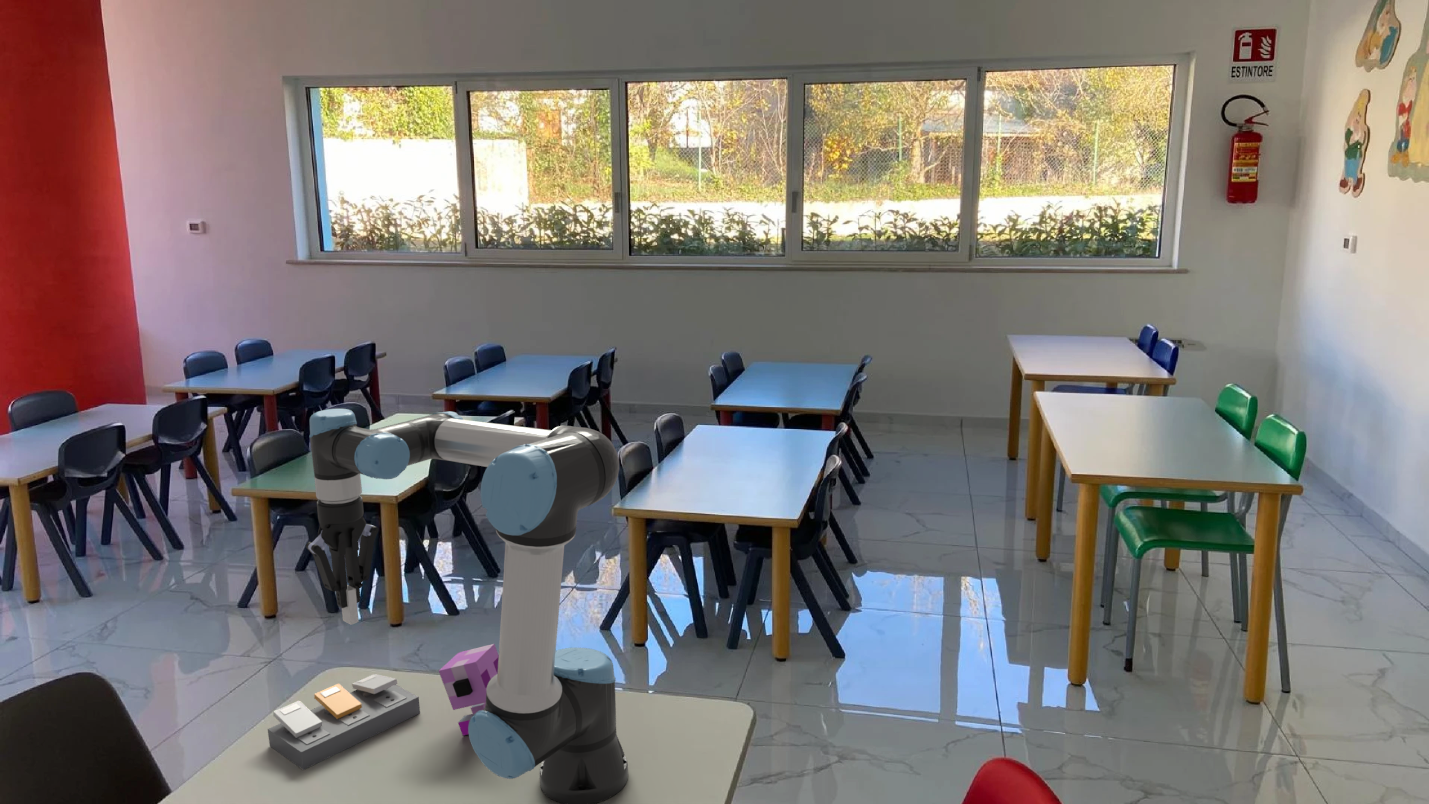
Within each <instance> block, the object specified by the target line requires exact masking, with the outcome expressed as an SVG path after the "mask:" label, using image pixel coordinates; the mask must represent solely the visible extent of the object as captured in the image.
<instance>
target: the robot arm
mask: <svg viewBox="0 0 1429 804" xmlns="http://www.w3.org/2000/svg"><path fill="white" fill-rule="evenodd" d="M357 424H358V421H357V418H356V415H355V413H354V412H353V411H352V410H351V409H348V408H347V409H346V408H330V409H329V408H328V409H323V410H319V411H316V412H314V413H313V414H311V416H310V417H309V441H310V449H311V451H310V452H311V457H312V458H311V459H312V466H313V469H312V470H313V474H314V475H313V477H314V487H315V497H316V499H317V501H316V507H317V508H316V509H317V519H318V523H319V528H318V532H317V537H315V539H314V540H313V541H312V542H311V541H308V542H307V543H306V544H305V548H306V549H307V550H308V551H309V552H310V553H311V554H312V556H313V559H314V562H315V565H316V567H317V571H318V573H319V576H320V578H321V580H322V584H323V585H324V586H323V587H324V588H325V589H327V590H329V591H332V592H333V593H334V592H335V595H336V605H337V606H338V607H339V608H341V614H342V621H343V622H345V623H346V624H349V625H350V626H352V625H354V624H357V623H359V612H358V603H360V602H361V600H362V599H361V588H362V587H363V585H364V584H363V582H364V581H368V580H369V579H370V574H371V567H372V560H373V559H372V558H373V553H374V543H375V539H376V538H377V535H378V533H379V529H380V528H379V527H377V526H375V525H372V524H371V523H367V522H366V520H365V518H364V515H365V513H364V511H365V510H364V502H363V497H362V495H361V494H362V493H363V489H362V488H363V487H362V479H361V475H363V476H366V477H369V478H372V479H373V478H374V479H379V480H392V479H395V478H397V477H399V476H400V475H401V474H403V472H404V471H405V470H406V469H407V467H408V466H412V465H414V464H418V463H419V464H420V463H421V462H425V461H428V460H429V461H430V460H441V461H448V462H455V463H460V464H461V463H462V464H467V465H473V466H479V467H480V466H481V467H485V471H484V473H483V476H482V479H481V485H480V500H481V506H482V508H483V509H485V510H486V513H485V517H486V519H487V520H488V522H489V523H490V524H491V526H492V527H493V528H494V529H495V532H496V533H495V534H497V536H498V537H499V539H501V540H502V541H503V542H504V543H505V546H504V547H505V548H504V562H503V578H502V579H503V581H502V595H501V612H500V625H499V626H500V627H499V643H498V655H499V658H498V674H496V675H495V676H494V677H493V678H492V679H491V680H490V681H489V683H488V685H487V690H486V705H485V708H484V709H483V710H480V711H478V712H476V713H475V715H474V716H473V717H472V718H471V719H470V722H469V726H468V733H469V734H468V738H469V743H470V744H471V747H472V749H473V751H474V753H475V754H476V756H477V757H478V759H479V761H480V762H481V763H482V764H483V765H484V767H486V769H487V770H489V771H490V772H492V773H493V774H495V775H496V776H498V777H501V778H503V779H506V780H507V779H509V780H511V779H512V780H513V779H516V778H519V777H520V776H522V775H524V774H526V773H528V772H531V771H532V770H534V769H535V767H537V766H538V765H540V766H539V784H540V785H539V786H540V789H541V791H542V793H543V794H544V795H545V796H546V797H548V798H549V799H550V800H553V801H555V802H557V803H561V804H596V803H600V802H603V801H605V800H607V799H608V800H609V799H610V798H611V797H614V796H615V795H617V794H618V793H619V792H621V790H623V788H624V787H625V786H626V784H627V783H628V778H629V764H628V760H627V759H628V758H627V757H626V755H625V752H624V749H623V747H622V744H621V742H620V739H619V737H618V735H617V711H616V710H617V708H616V705H617V704H616V676H615V671H614V663H613V660H612V659H611V657H609V655H607V654H606V653H604V652H602V651H601V650H597V649H593V648H587V647H565V648H561V649H557V639H558V625H559V613H560V603H561V590H562V589H561V588H562V579H563V577H562V576H563V567H564V566H563V565H564V555H565V553H564V552H565V545H568V543H570V542H571V541H572V540H573V539H575V537H576V535H577V534H576V533H577V522H578V514H579V513H578V512H579V511H580V510H582V509H585V508H586V507H589V506H592V505H593V504H595V503H597V502H599V501H601V500H602V499H605V497H606V496H607V495H608V494H609V493H610V492H611V491H612V489H613V488H614V486H615V485H616V482H617V480H618V477H619V471H620V460H619V454H618V451H617V450H616V448H615V446H614V444H613V443H612V441H611V440H610V439H609V438H608V437H607V436H606V435H605V434H603V433H602V432H600V431H597V430H595V429H592V428H588V427H581V426H571V425H560V426H559V425H558V426H556V427H554V428H553V429H552V430H551V429H543V428H536V427H529V426H528V427H526V426H518V425H510V424H503V423H493V422H484V421H476V420H470V419H464V418H463V417H462V416H460V415H459V414H458V413H457V412H455V411H443V412H434V413H432V414H431V413H430V414H429V415H426V416H421V417H418V418H414V419H410V420H407V421H402V422H398V423H394V424H389V425H387V426H383V427H379V428H374V429H373V428H372V429H369V428H363V427H360V426H357ZM359 540H360V542H359ZM324 544H326V545H327V547H328V551H329V553H330V557H331V564H330V561H329V559H328V556H327V554H326V552H325V548H326V547H325V545H324Z"/></svg>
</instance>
